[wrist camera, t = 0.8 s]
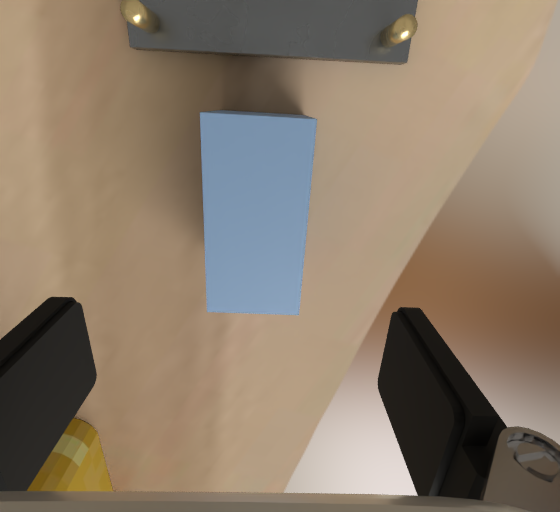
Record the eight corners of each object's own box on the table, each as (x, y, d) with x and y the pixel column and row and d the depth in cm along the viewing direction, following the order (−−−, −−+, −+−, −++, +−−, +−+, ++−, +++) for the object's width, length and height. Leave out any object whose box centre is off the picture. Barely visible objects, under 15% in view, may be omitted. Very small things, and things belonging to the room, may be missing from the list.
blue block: (221, 110, 25) (199, 112, 17) (303, 114, 25) (316, 119, 18) (223, 260, 30) (207, 311, 22) (292, 263, 30) (298, 315, 22)
